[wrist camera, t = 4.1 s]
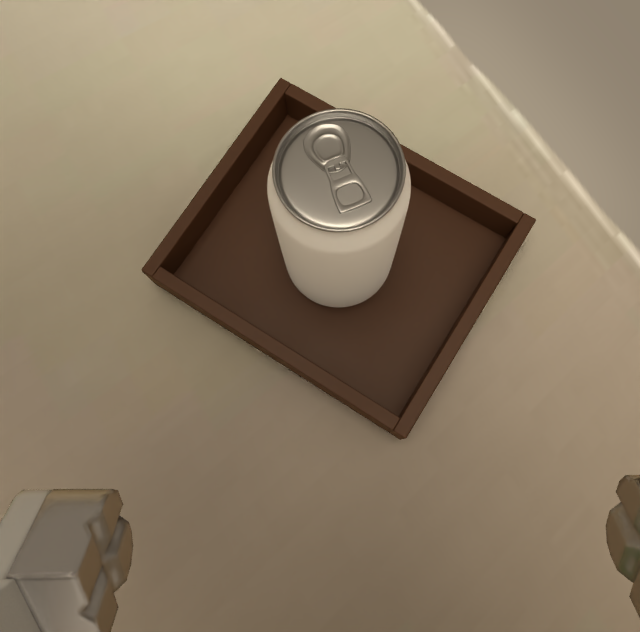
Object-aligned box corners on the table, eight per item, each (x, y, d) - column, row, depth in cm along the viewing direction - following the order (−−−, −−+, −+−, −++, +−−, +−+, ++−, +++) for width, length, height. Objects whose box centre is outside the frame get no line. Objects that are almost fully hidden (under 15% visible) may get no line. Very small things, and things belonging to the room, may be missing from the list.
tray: (154, 283, 37) (140, 270, 34) (284, 102, 40) (280, 76, 37) (400, 439, 35) (405, 438, 32) (522, 236, 37) (536, 219, 34)
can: (365, 193, 38) (378, 77, 26) (408, 285, 36) (442, 206, 25) (270, 232, 37) (238, 131, 26) (309, 326, 36) (296, 265, 24)
